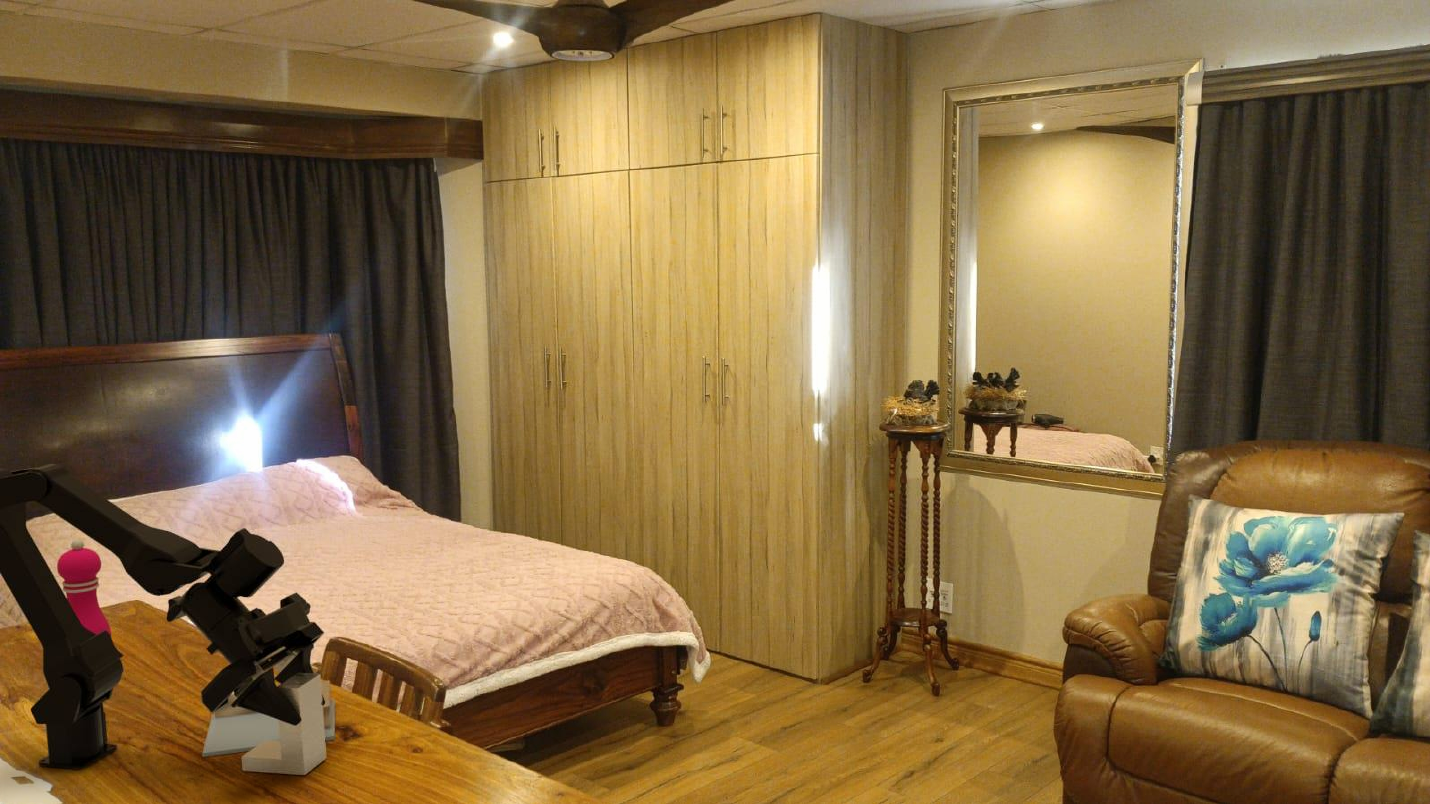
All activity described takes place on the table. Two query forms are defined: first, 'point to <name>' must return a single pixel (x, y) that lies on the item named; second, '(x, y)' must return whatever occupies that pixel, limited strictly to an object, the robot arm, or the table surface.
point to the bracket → (294, 732)
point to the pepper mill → (83, 585)
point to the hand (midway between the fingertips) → (311, 714)
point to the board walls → (231, 711)
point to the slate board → (247, 732)
